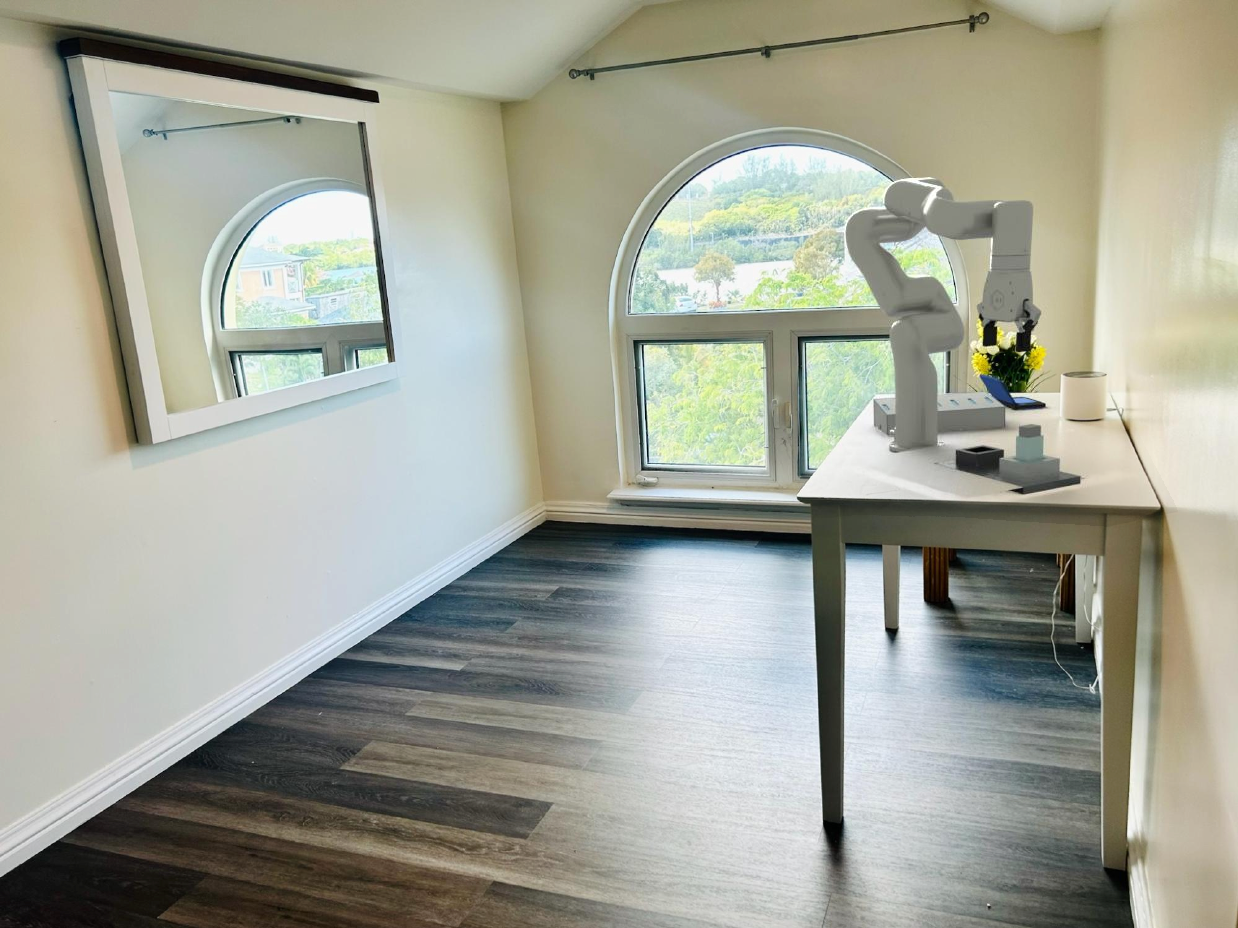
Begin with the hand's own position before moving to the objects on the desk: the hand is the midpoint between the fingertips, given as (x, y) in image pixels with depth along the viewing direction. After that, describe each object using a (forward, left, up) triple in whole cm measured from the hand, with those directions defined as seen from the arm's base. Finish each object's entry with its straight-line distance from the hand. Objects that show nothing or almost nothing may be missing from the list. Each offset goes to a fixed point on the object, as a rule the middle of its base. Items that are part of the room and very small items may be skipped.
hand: (1005, 348), depth 197 cm
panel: (+5, -5, -25) cm, 26 cm away
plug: (+12, -5, -24) cm, 27 cm away
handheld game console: (-58, +55, -26) cm, 83 cm away
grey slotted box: (-47, +20, -26) cm, 58 cm away
